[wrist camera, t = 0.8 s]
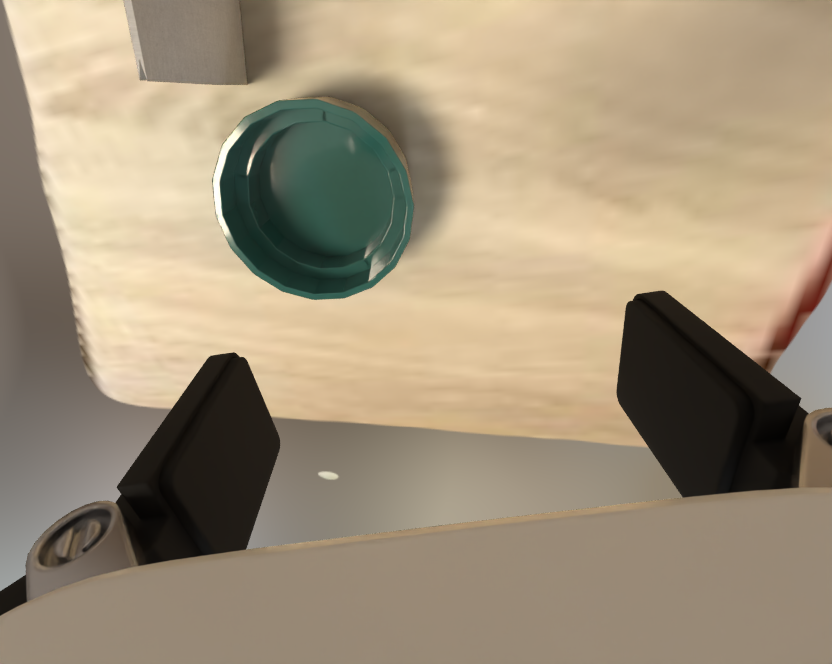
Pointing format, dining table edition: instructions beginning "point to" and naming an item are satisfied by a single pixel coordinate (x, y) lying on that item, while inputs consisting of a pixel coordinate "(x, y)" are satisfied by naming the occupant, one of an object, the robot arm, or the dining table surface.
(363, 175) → the teal faceted bowl
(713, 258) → the dining table surface
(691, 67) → the dining table surface
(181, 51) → the white juice carton
